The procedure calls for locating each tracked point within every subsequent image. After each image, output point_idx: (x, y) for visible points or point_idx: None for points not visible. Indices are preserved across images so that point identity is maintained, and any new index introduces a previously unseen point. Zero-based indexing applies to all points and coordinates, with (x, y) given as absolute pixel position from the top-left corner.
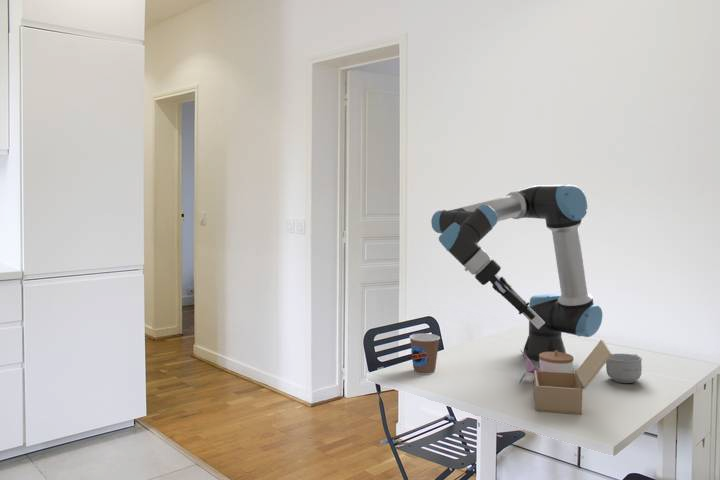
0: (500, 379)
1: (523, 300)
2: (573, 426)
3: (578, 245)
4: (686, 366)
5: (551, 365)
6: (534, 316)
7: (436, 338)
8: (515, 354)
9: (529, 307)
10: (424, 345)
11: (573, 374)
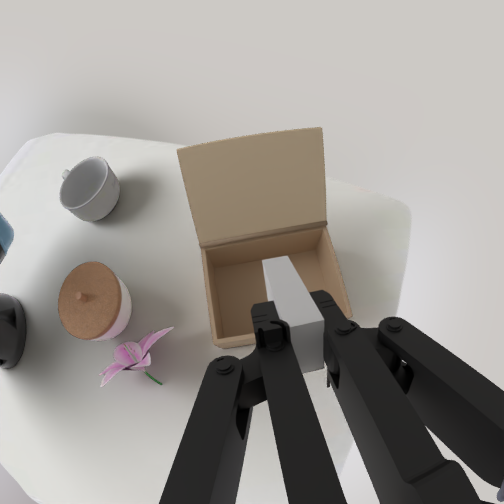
0: (153, 424)
1: (230, 375)
2: (378, 255)
3: None
4: (47, 152)
5: (123, 311)
6: (324, 292)
7: None
8: (7, 382)
9: (319, 315)
10: None
11: (205, 253)
